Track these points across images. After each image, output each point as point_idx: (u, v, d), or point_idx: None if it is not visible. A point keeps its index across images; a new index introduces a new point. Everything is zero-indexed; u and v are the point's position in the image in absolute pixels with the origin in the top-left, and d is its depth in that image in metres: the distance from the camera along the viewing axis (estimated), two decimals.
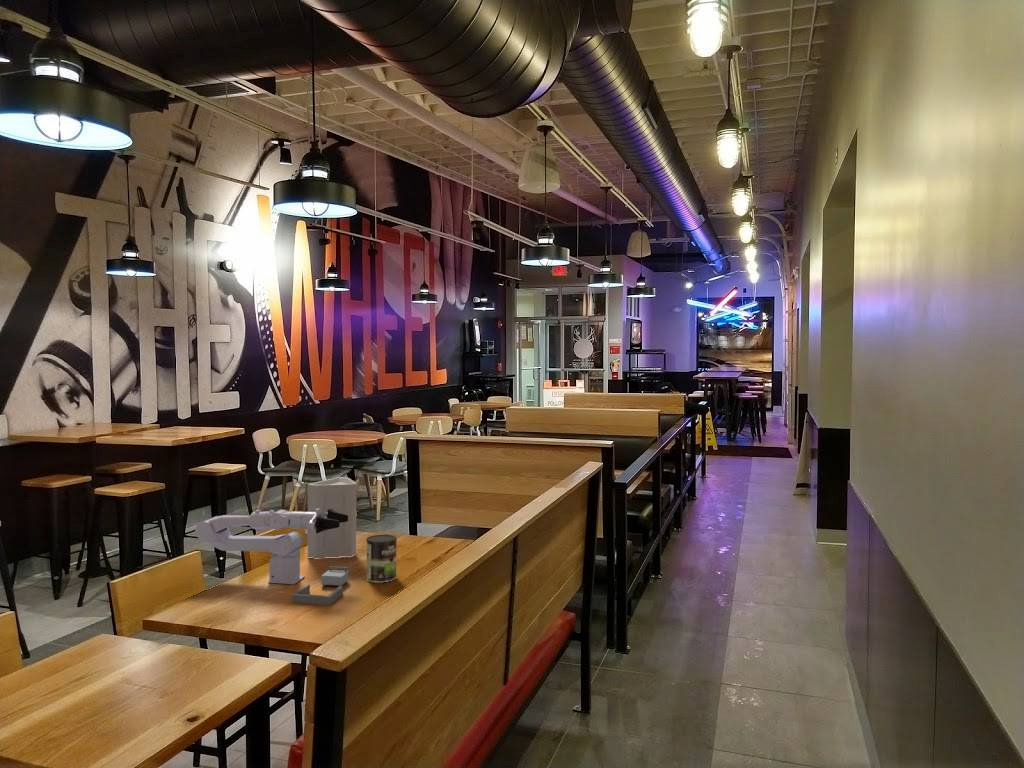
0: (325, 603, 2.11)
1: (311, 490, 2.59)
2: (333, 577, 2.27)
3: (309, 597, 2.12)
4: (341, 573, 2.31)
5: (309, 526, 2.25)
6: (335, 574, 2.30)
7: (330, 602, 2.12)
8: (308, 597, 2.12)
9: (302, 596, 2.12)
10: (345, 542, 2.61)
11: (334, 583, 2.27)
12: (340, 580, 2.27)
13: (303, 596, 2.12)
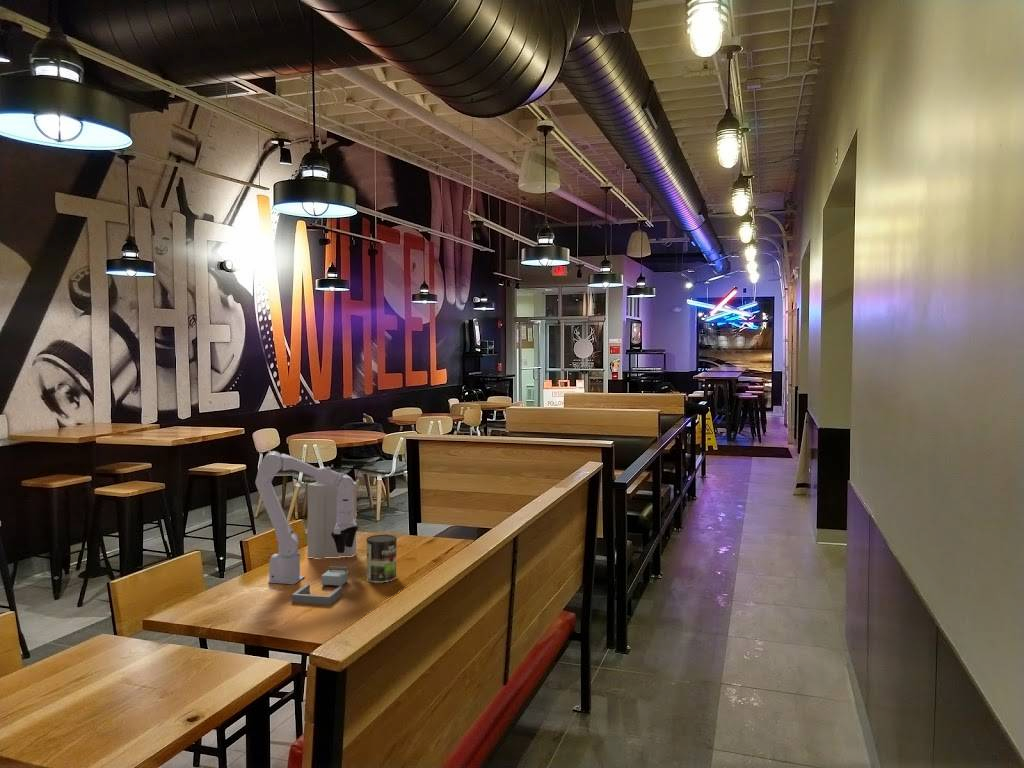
0: (325, 603, 2.11)
1: (311, 490, 2.59)
2: (333, 577, 2.27)
3: (309, 597, 2.12)
4: (341, 573, 2.31)
5: (336, 529, 2.31)
6: (335, 574, 2.30)
7: (330, 602, 2.12)
8: (308, 597, 2.12)
9: (302, 596, 2.12)
10: None
11: (334, 583, 2.27)
12: (340, 580, 2.27)
13: (303, 596, 2.12)
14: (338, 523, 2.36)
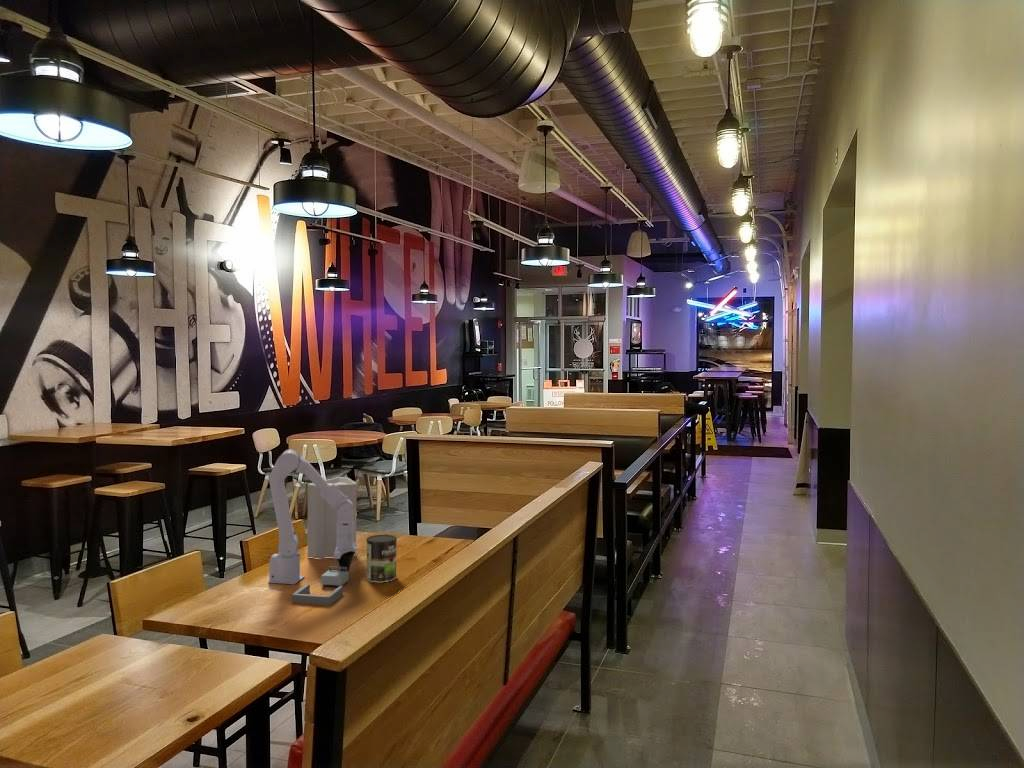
0: (325, 603, 2.11)
1: (311, 490, 2.59)
2: (333, 577, 2.27)
3: (309, 597, 2.12)
4: (341, 573, 2.31)
5: (336, 554, 2.32)
6: (335, 574, 2.30)
7: (330, 602, 2.12)
8: (308, 597, 2.12)
9: (302, 596, 2.12)
10: None
11: (334, 583, 2.27)
12: (340, 580, 2.27)
13: (303, 596, 2.12)
14: (338, 547, 2.36)
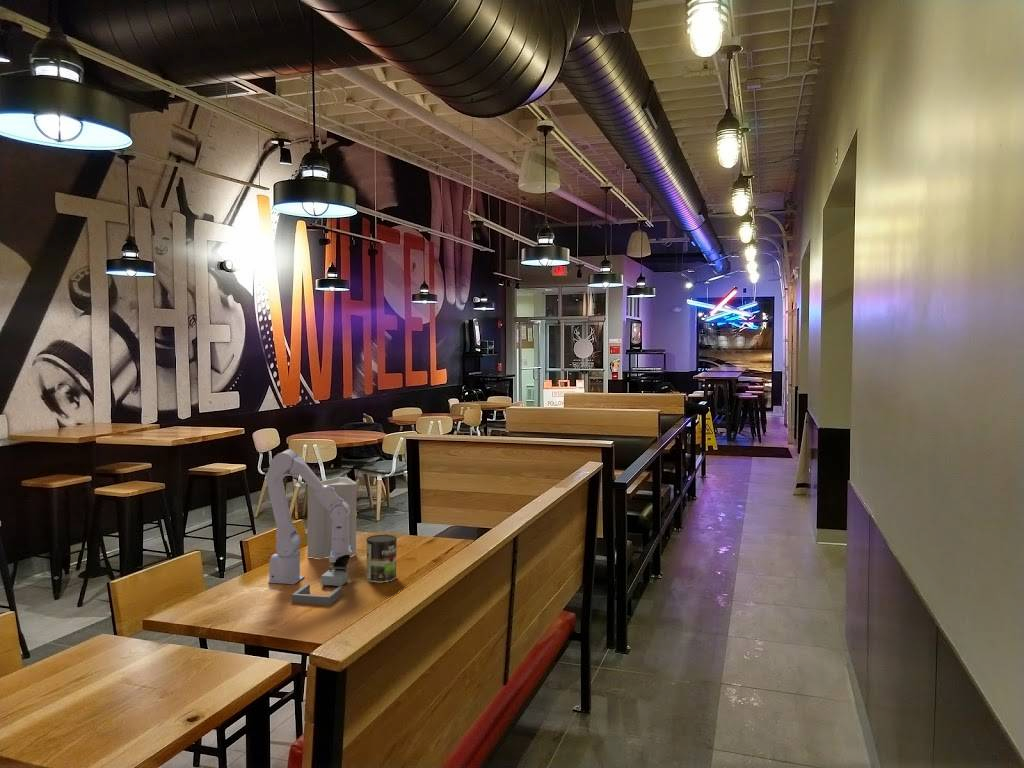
0: (325, 603, 2.11)
1: (311, 490, 2.59)
2: (333, 577, 2.27)
3: (309, 597, 2.12)
4: (341, 573, 2.31)
5: (331, 558, 2.28)
6: (335, 574, 2.30)
7: (330, 602, 2.12)
8: (308, 597, 2.12)
9: (302, 596, 2.12)
10: None
11: (334, 583, 2.27)
12: (340, 580, 2.27)
13: (303, 596, 2.12)
14: (333, 551, 2.32)
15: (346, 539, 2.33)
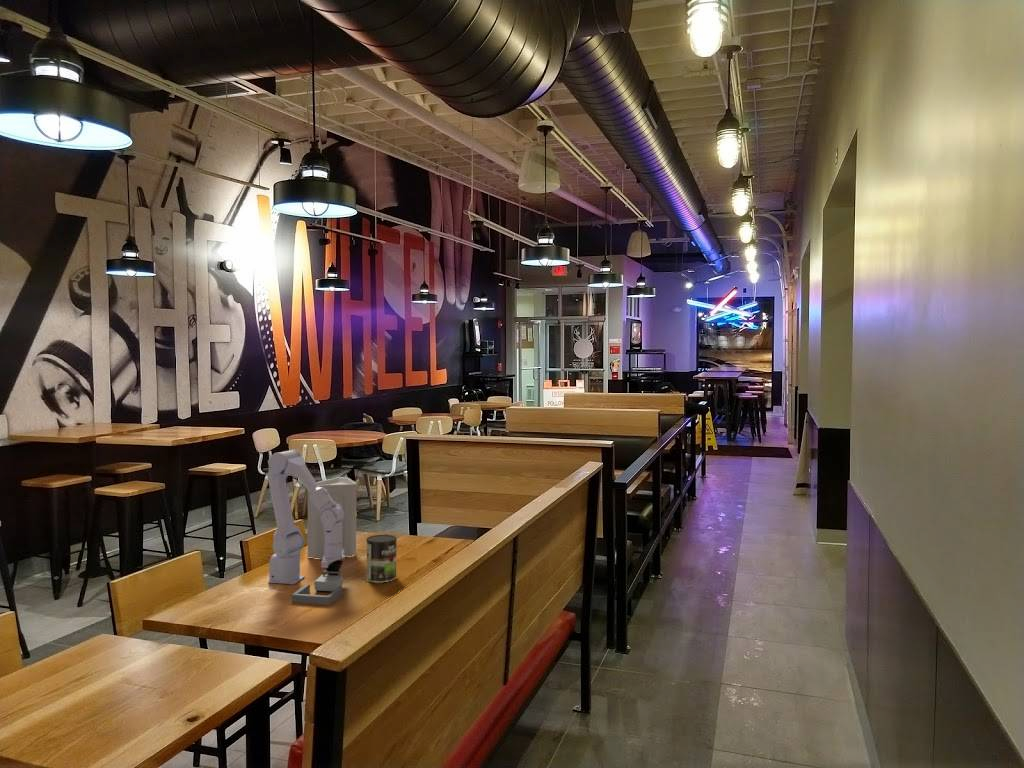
0: (325, 603, 2.11)
1: None
2: (327, 583, 2.22)
3: (309, 597, 2.12)
4: (335, 578, 2.25)
5: (323, 563, 2.21)
6: (329, 579, 2.24)
7: (330, 602, 2.12)
8: (308, 597, 2.12)
9: (302, 596, 2.12)
10: (345, 542, 2.61)
11: (328, 589, 2.22)
12: (334, 586, 2.22)
13: (303, 596, 2.12)
14: (326, 555, 2.26)
15: (339, 544, 2.27)
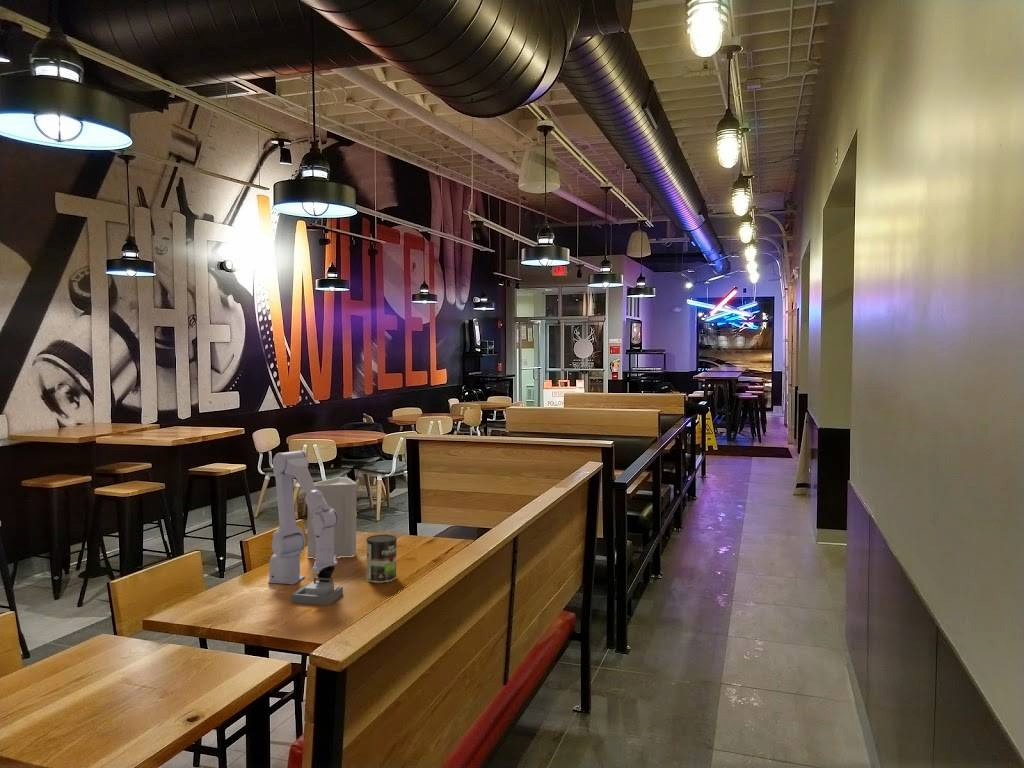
0: (325, 603, 2.11)
1: None
2: (317, 590, 2.15)
3: (309, 597, 2.12)
4: (326, 585, 2.18)
5: (314, 569, 2.15)
6: (319, 586, 2.17)
7: (330, 602, 2.12)
8: (308, 597, 2.12)
9: (302, 596, 2.12)
10: (345, 542, 2.61)
11: None
12: (325, 593, 2.15)
13: (303, 596, 2.12)
14: (317, 561, 2.20)
15: (331, 549, 2.20)
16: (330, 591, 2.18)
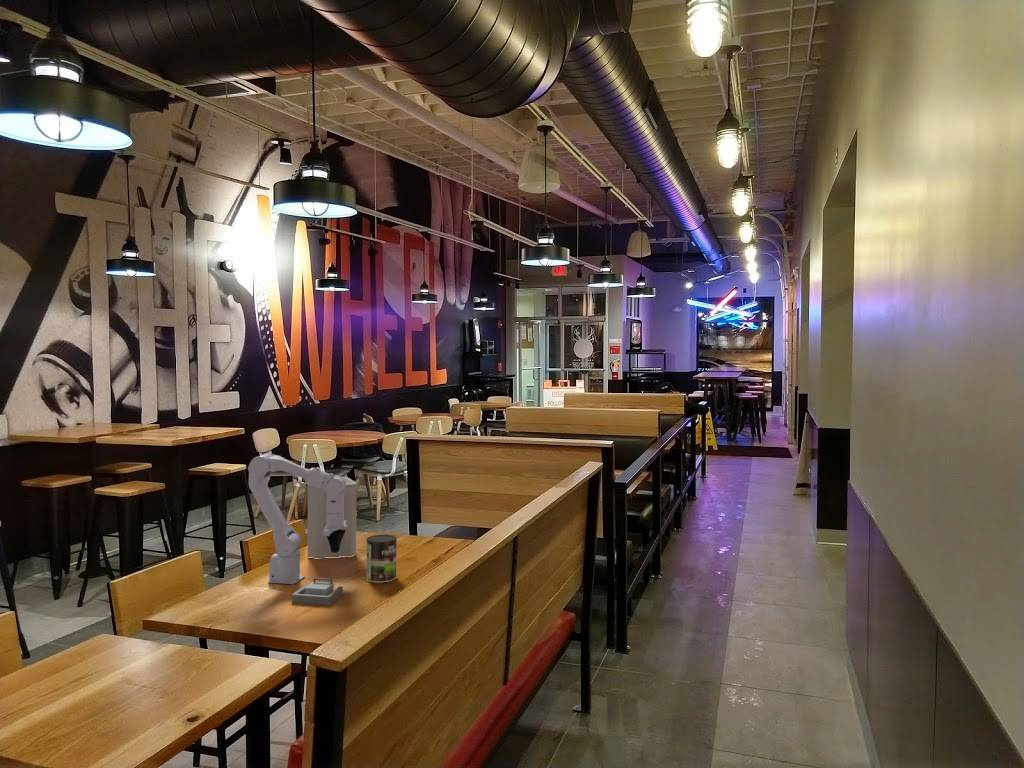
0: (325, 603, 2.11)
1: (311, 490, 2.59)
2: (317, 589, 2.15)
3: (309, 597, 2.12)
4: (326, 585, 2.18)
5: (325, 531, 2.27)
6: (319, 586, 2.17)
7: (330, 602, 2.12)
8: (308, 597, 2.12)
9: (302, 596, 2.12)
10: (345, 542, 2.61)
11: None
12: (324, 593, 2.15)
13: (303, 596, 2.12)
14: (328, 525, 2.31)
15: (341, 513, 2.32)
16: (330, 591, 2.18)
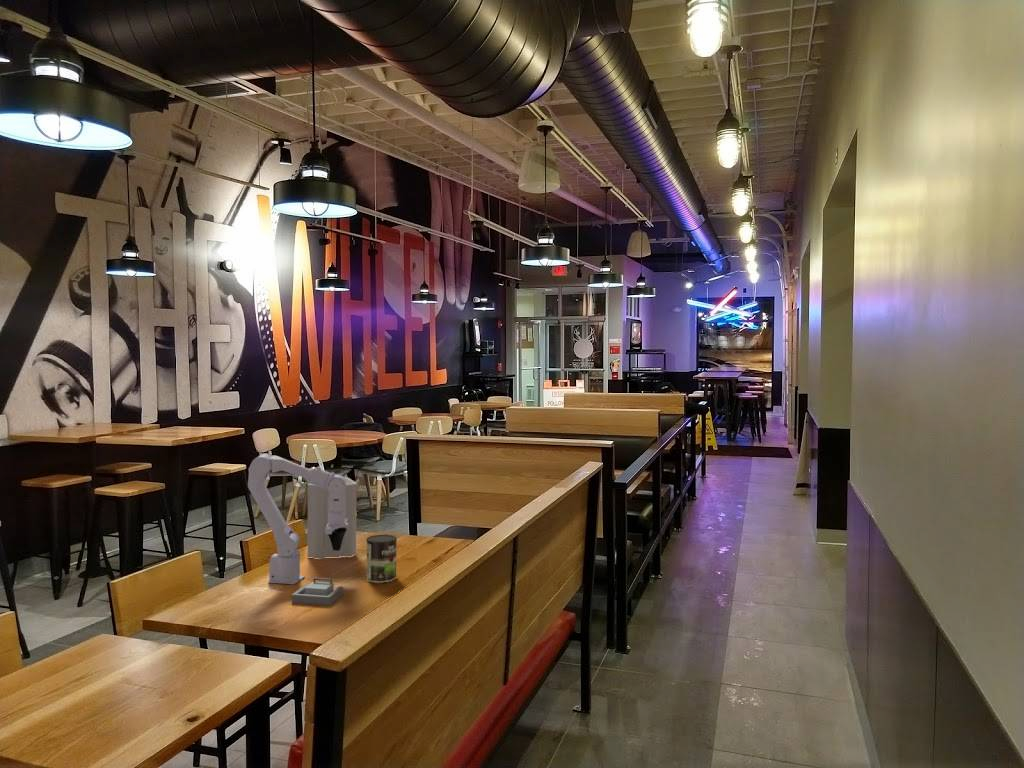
0: (325, 603, 2.11)
1: (311, 490, 2.59)
2: (317, 589, 2.15)
3: (309, 597, 2.12)
4: (326, 585, 2.18)
5: (327, 529, 2.29)
6: (319, 586, 2.17)
7: (330, 602, 2.12)
8: (308, 597, 2.12)
9: (302, 596, 2.12)
10: (345, 542, 2.61)
11: None
12: (324, 593, 2.15)
13: (303, 596, 2.12)
14: (329, 523, 2.34)
15: (342, 512, 2.35)
16: (330, 591, 2.18)
